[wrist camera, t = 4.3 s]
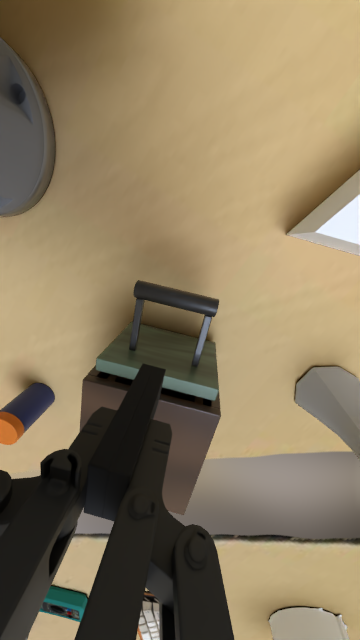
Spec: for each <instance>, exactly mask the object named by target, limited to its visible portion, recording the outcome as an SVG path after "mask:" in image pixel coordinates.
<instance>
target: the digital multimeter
mask: <svg viewBox="0 0 360 640" xmlns="http://www.w3.org/2000/svg"><path fill="white" fill-rule="evenodd" d="M87 601H88V600H87V597H86V595H85V594H83V593H79V592H75V591H70V590H66V589H62V588H58V587H54V586H50V588H49V590H48V593H47V595H46V597H45V599H44V601H43V604H42V606H41V608H40V610H39V611H40V612H44V613H49V614H53V615H57V616H61V617H64V618H68V619H71V620H75V621H78V622H81V619H82V616H83V613H84V610H85V607H86V604H87Z"/></svg>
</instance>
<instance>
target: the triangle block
mask: <svg viewBox="0 0 360 640" xmlns="http://www.w3.org/2000/svg"><path fill="white" fill-rule="evenodd" d="M286 235H289V236H292V237H296V238H299V239H303V240H306V241H310V242H313V243H317V244H320V245H323V246H327V247H330V248H334V249H337V250H341V251H344V252H348V253H351V254H355V255H358V256H360V170H359V171H357V172H356V173H355V174H354V175H353V176H352V177H351V178H349V179H348V180H347V181H346V182H345V183H344V184H343V185H342V186H340V187H339V188H338V189H337V190H336V191H335V192H334V193H332V194H331V195H330V196H329V197H328V198H327V199H326V200H325V201H323V202H322V203H321V204H320V205H319V206H318V207H317V208H315V209H314V210H313V211H312V212H311V213H310V214H309V215H308V216H306V217H305V218H304V219H303V220H302V221H301V222H300V223H298V224H297V225H296V226H295V227H294V228H293V229H292V230H291V231H289V232H288V233H287V234H286Z"/></svg>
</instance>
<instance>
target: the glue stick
mask: <svg viewBox="0 0 360 640" xmlns="http://www.w3.org/2000/svg"><path fill="white" fill-rule="evenodd" d="M54 399H55V396H54V393H53V391H52V390H51V389H50V388H49V387H48V386H46V385H44V384H42V383H34V384H32V385H31V386H29V387H28V388H27V389H26V390H24V391H23V392H22V393H21V394H20V395H18V396H17V397H16V398H15V399H13V400H12V401H11V402H10V403H8V404H7V405H6V406H5V407H4V408H2V409H1V410H0V443H1V444H5V445H10V444H14V443H15V442H16V441H17V440H18V439H19V438H20V437H21V436H22V435H23V433H24V432H25V431H26V430H27V429H28V428H29V427H30V426H31V425H32V424H33V423H34V422H35V421H36V420H37V419H38V418H39V417H40V416H41V415H42V414H43V413H44V412H45V411H46V410H47V408H48V407H49V406H50V405H51V404H52V403H53V402H54Z"/></svg>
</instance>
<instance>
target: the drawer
mask: <svg viewBox="0 0 360 640" xmlns="http://www.w3.org/2000/svg"><path fill="white" fill-rule="evenodd" d="M134 297H135V298H137V299H136V305H135V312H134V319H133V322H131V323H130V324H129V325H128V326H127V327H126V328H125V329H124V330H123V331H122V332H121V333H120V334H119V335H118V336H117V337H116V339H115V340H114V341H113V342H112V343H111V344H110V345H109V346H108V347H107V348H106V349H105V350H104V351H103V352H102V353H101V354H100V355H99V356H98V357H97V360H96V370H98V371H102V372H105V373H109V374H110V375H109V376H108V378H107V380H111V381H115V382H119V383H122V384H126V385H130V386H131V384H132V382H133V380H134V379H135V377H136V375H137V373H138V371H139V369H140V367H141V366H142V364H143V363H144V364H147V365H151V366H155V367H159V368H163V369H166V371H165V376H164V380H163V384H162V389H161V394H164V395H168V396H172V397H176V398H180V399H184V400H187V401H191V402H195V403H199V404H203V398H205V399H209V400H213V401H215V400H216V397H217V394H218V391H219V385H218V372H217V359H216V346H215V342H211V341H207V340H206V336H207V333H208V329H209V326H210V322H211V319H212V316H213V317H215V315H216V313H217V309H218V305H219V300H218V299H215V298H210V297H206V296H202V295H198V294H194V293H190V292H186V291H182V290H177V289H173V288H169V287H165V286H161V285H157V284H153V283H149V282H144V281H140V280H138V281H137V282H136V284H135V287H134ZM145 300H147V301H151V302H156V303H160V304H164V305H168V306H172V307H176V308H180V309H184V310H188V311H192V312H196V313H200V314H204V315H205V316H204V320H203V323H202V327H201V331H200V334H199V338H195V337H191V336H187V335H183V334H179V333H175V332H171V331H167V330H163V329H159V328H155V327H151V326H147V325H143V324H141V319H142V313H143V307H144V301H145Z"/></svg>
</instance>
